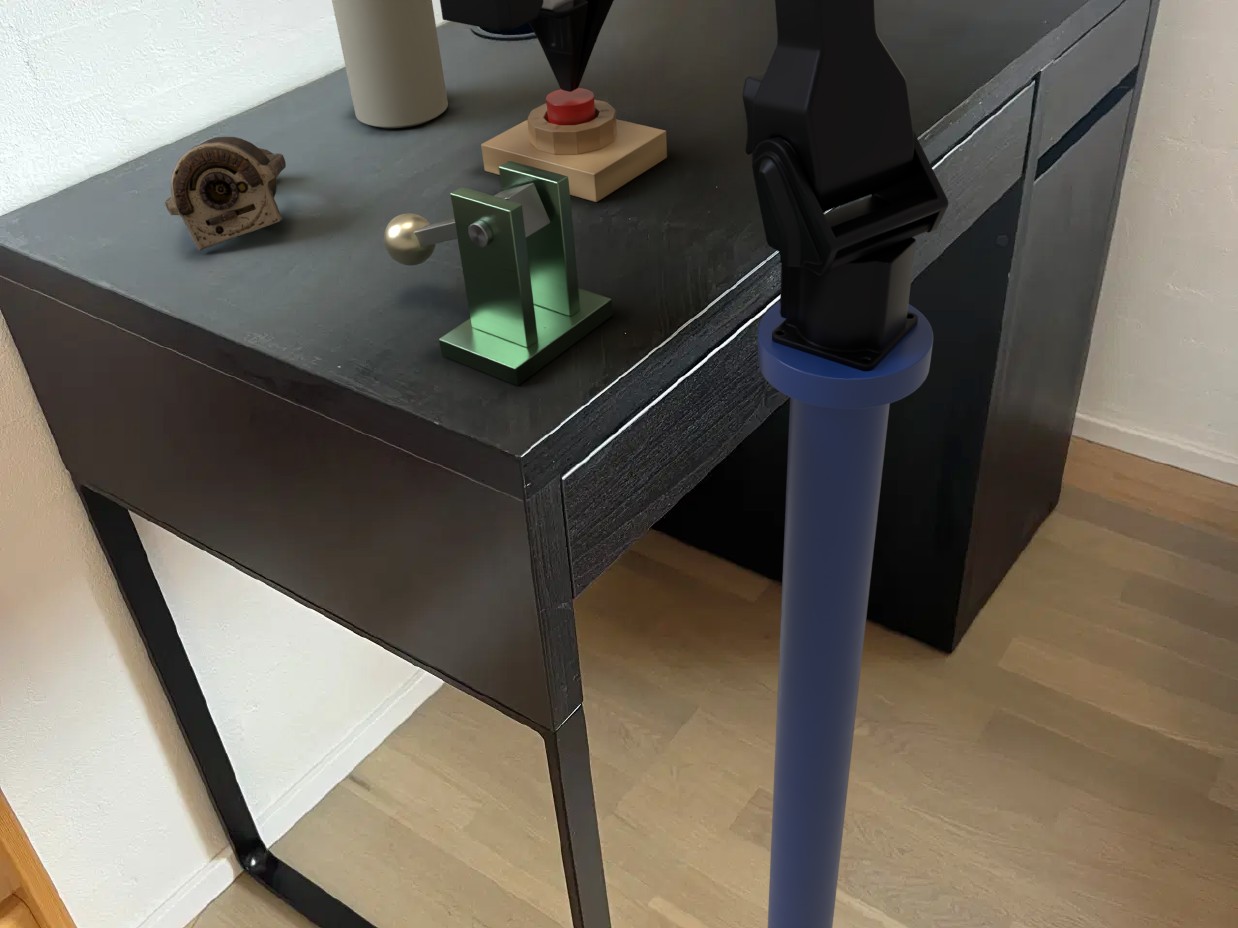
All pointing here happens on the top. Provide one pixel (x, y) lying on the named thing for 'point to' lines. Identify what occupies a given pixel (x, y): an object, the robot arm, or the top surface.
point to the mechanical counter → (225, 190)
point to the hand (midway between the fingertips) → (569, 89)
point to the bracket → (519, 280)
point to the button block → (580, 150)
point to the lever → (452, 227)
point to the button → (570, 107)
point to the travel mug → (392, 60)
